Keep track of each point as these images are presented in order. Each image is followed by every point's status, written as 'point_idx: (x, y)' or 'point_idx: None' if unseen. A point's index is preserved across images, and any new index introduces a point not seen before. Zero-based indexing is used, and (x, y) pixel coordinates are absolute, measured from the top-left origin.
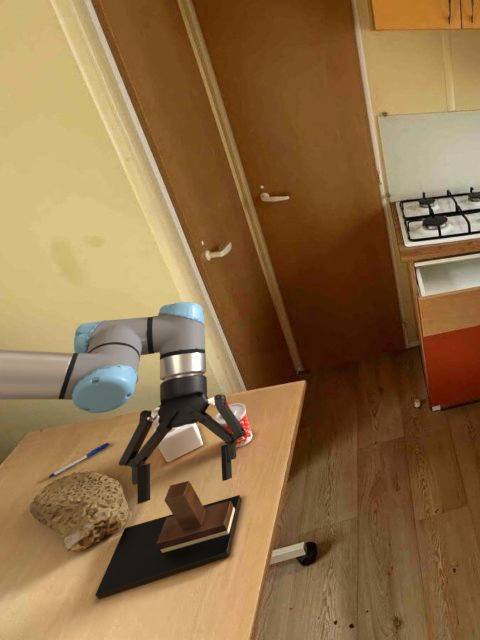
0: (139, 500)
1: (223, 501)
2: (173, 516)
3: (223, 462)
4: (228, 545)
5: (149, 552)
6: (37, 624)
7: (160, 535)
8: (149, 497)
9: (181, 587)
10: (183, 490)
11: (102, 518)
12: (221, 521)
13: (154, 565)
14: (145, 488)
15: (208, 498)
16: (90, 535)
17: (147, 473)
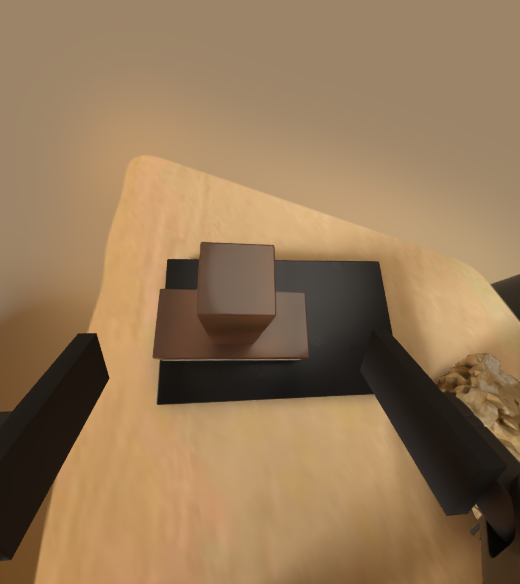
0: (385, 334)
1: (196, 396)
2: (293, 356)
3: (40, 393)
4: (166, 273)
5: (322, 311)
6: (440, 260)
7: (303, 310)
8: (364, 371)
9: (244, 241)
10: (207, 265)
11: (468, 397)
12: (167, 299)
13: (300, 281)
14: (390, 379)
15: (245, 433)
16: (465, 378)
17: (422, 445)
